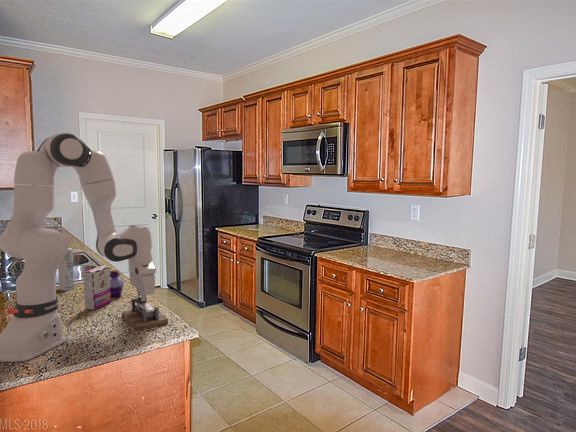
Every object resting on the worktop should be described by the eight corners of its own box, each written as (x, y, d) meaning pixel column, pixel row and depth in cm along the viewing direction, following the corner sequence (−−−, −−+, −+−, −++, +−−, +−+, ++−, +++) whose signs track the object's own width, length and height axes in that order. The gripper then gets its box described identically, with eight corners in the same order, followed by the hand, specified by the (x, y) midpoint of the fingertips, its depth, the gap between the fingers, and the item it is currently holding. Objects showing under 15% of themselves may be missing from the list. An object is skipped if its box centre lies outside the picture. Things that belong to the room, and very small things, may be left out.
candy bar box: (101, 301, 174) (100, 265, 172) (111, 302, 173) (110, 266, 171) (84, 309, 163) (82, 271, 161) (94, 310, 162) (93, 272, 160)
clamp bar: (154, 310, 147) (154, 307, 147) (146, 312, 145) (146, 308, 145) (142, 300, 158) (142, 297, 158) (134, 301, 156) (134, 298, 156)
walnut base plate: (168, 323, 149) (168, 318, 148) (136, 330, 141) (135, 325, 141) (152, 310, 163) (152, 305, 162) (122, 316, 155) (122, 311, 155)
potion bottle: (100, 297, 179) (99, 271, 178) (114, 292, 187) (113, 267, 186) (115, 299, 176) (114, 273, 175) (129, 294, 184) (128, 269, 183)
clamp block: (158, 319, 147) (158, 306, 147) (143, 322, 144) (143, 309, 143) (145, 308, 160) (145, 296, 159) (131, 310, 156) (130, 298, 156)
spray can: (68, 290, 188) (66, 250, 186) (56, 290, 189) (54, 250, 187) (77, 287, 195) (75, 247, 193) (64, 286, 195) (62, 247, 193)
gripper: (124, 262, 159) (126, 294, 161) (140, 272, 143) (142, 308, 145) (140, 260, 163) (141, 291, 165) (157, 269, 147) (158, 304, 149)
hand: (142, 299), depth 155 cm, fingers closed on clamp bar, 2 cm apart
